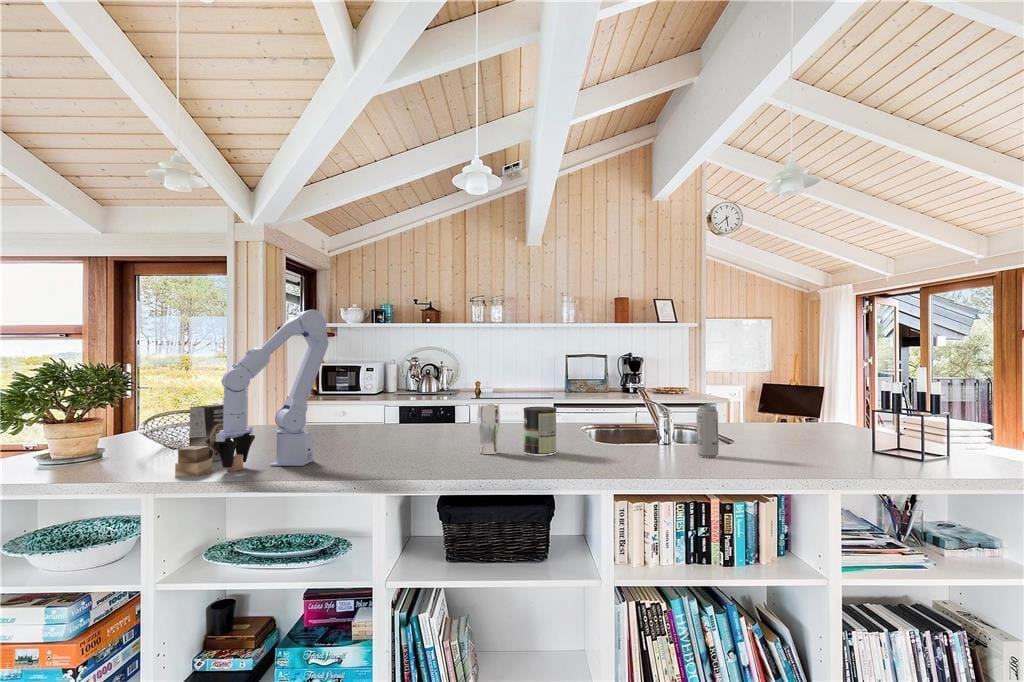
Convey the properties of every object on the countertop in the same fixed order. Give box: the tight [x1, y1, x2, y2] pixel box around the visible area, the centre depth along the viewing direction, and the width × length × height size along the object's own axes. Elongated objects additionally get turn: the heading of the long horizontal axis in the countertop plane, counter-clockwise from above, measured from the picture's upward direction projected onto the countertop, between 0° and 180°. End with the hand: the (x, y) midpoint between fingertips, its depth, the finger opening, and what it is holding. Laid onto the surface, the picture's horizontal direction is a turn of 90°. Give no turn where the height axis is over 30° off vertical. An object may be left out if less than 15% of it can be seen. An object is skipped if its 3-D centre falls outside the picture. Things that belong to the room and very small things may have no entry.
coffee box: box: [188, 404, 223, 463], centre depth 160 cm, size 9×6×16 cm
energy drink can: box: [696, 405, 719, 458], centre depth 163 cm, size 6×6×15 cm
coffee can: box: [522, 406, 557, 454], centre depth 170 cm, size 10×10×14 cm
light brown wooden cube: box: [225, 453, 244, 472], centre depth 147 cm, size 4×4×4 cm
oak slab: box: [174, 459, 213, 477], centre depth 142 cm, size 6×6×4 cm
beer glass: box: [477, 403, 501, 453], centre depth 171 cm, size 7×7×15 cm
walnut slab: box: [177, 446, 209, 463], centre depth 142 cm, size 5×5×4 cm
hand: (234, 464), depth 147 cm, fingers open, 6 cm apart
